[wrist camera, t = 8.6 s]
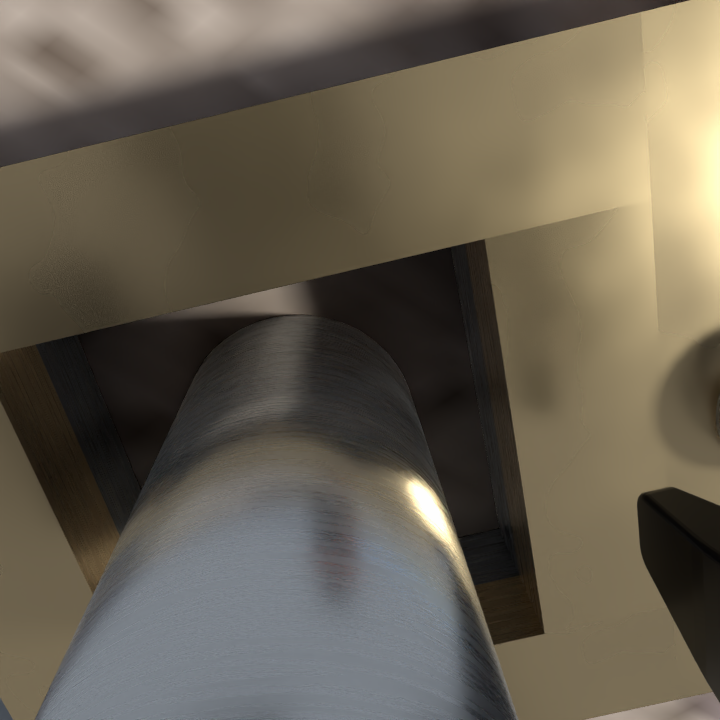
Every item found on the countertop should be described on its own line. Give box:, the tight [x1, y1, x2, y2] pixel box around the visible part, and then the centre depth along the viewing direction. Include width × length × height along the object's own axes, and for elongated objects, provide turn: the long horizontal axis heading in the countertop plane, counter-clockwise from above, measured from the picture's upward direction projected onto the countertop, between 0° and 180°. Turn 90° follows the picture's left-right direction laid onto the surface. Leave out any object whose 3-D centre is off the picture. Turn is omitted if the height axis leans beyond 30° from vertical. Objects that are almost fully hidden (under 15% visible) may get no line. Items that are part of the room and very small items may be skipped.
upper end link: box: [0, 0, 720, 720], centre depth 11 cm, size 12×16×4 cm
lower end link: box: [0, 244, 519, 720], centre depth 12 cm, size 12×16×2 cm
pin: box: [35, 315, 518, 720], centre depth 9 cm, size 4×4×9 cm
